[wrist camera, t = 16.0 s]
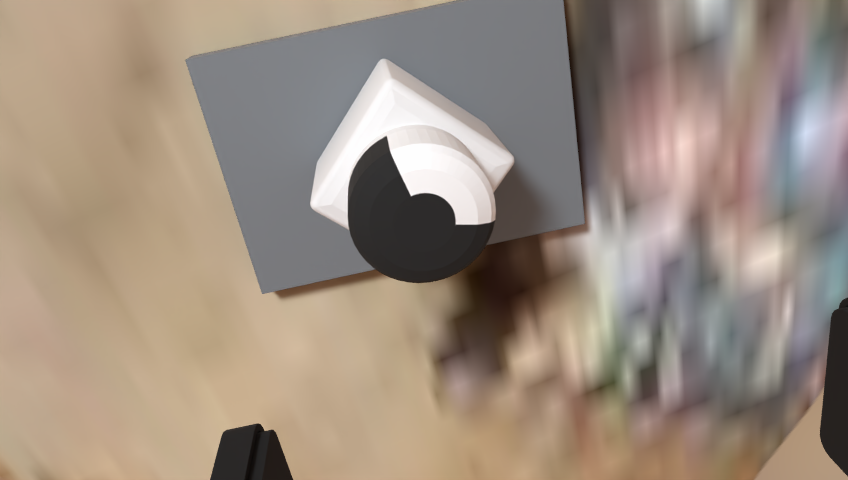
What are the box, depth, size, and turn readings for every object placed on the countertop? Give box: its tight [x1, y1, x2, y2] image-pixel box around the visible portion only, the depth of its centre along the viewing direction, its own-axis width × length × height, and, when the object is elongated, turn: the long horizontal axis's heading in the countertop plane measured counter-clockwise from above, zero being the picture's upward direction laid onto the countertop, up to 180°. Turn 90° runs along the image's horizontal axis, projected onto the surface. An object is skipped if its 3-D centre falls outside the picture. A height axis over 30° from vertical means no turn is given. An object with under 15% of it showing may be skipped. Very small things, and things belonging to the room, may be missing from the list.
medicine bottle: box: [310, 59, 514, 283], centre depth 31 cm, size 7×7×12 cm
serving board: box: [185, 0, 585, 294], centre depth 38 cm, size 20×14×2 cm
